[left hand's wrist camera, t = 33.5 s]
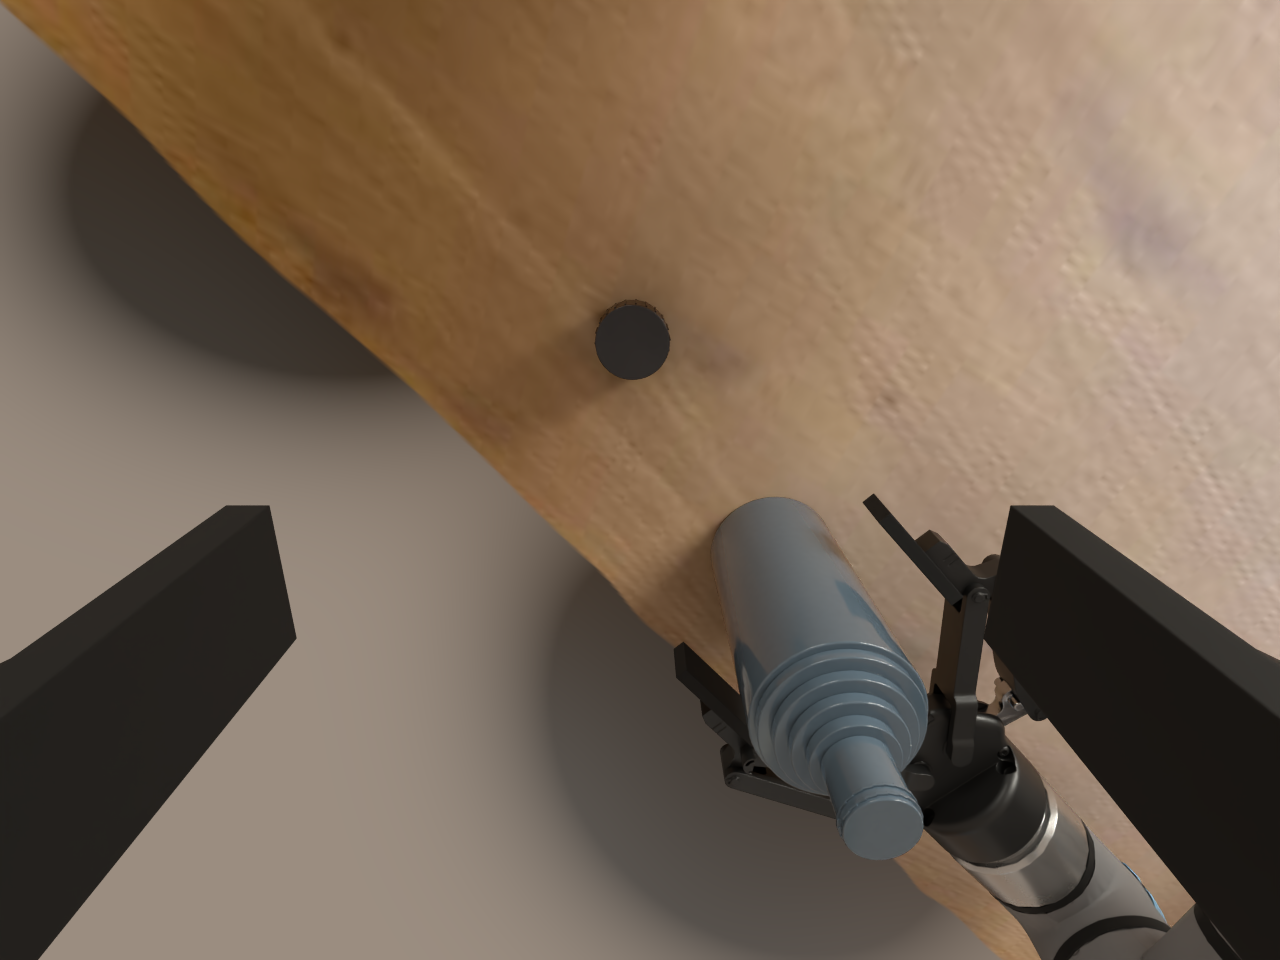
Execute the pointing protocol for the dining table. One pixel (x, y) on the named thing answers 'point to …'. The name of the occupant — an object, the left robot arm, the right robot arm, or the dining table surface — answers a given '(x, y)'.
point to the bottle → (820, 672)
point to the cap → (632, 340)
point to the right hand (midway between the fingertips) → (773, 585)
